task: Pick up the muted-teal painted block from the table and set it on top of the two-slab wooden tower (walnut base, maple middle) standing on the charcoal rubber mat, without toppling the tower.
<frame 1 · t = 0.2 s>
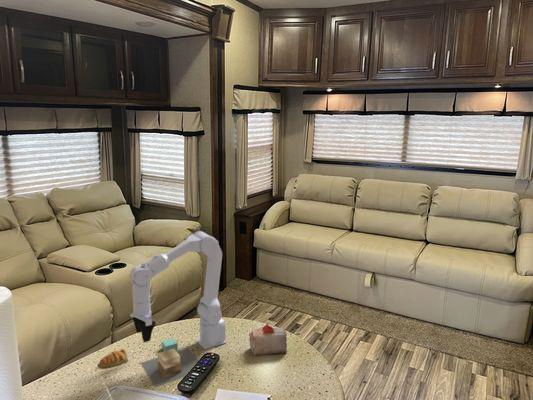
hand: (143, 336, 143), 10 cm above the countertop, fingers open, 7 cm apart
mat: (173, 366, 142), on the countertop
tower base: (169, 370, 139), resting on mat, touching tower mid
pastry: (115, 363, 144), on the countertop
teal block: (169, 350, 152), on the countertop
food item: (267, 351, 153), on the countertop
tower mid: (169, 362, 138), point 3 cm above the countertop, touching tower base
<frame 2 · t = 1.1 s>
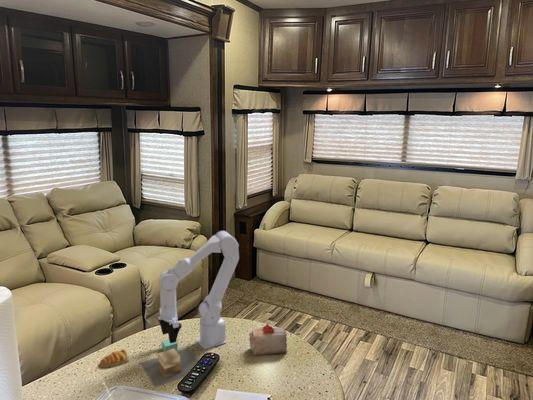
hand: (169, 337, 151), 5 cm above the countertop, fingers open, 7 cm apart
nothing on the countertop moved.
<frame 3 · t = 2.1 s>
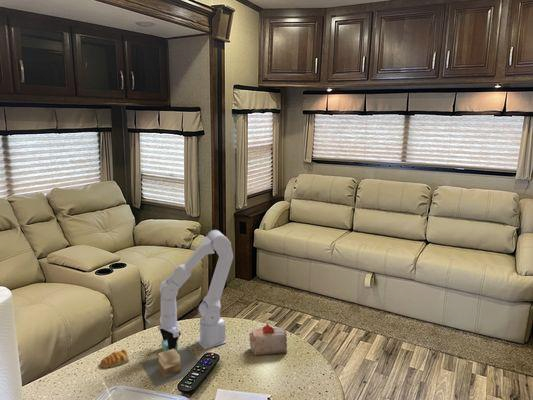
hand: (169, 346, 152), 1 cm above the countertop, fingers closed on teal block, 4 cm apart
teal block: (169, 350, 152), on the countertop, touching gripper
everything else where it was.
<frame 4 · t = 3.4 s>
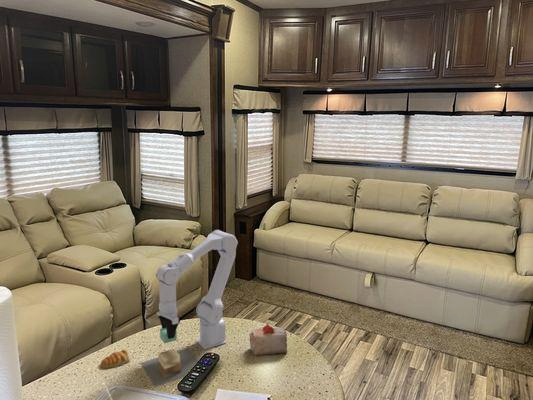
hand: (168, 334, 145), 9 cm above the countertop, fingers closed on teal block, 4 cm apart
teal block: (168, 339, 145), point 8 cm above the countertop, touching gripper
everything else where it was.
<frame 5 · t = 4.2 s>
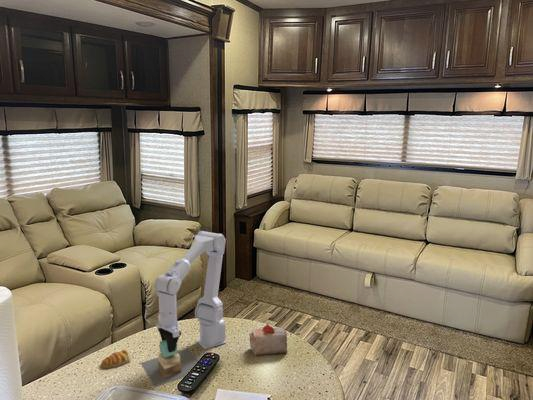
hand: (169, 347, 137), 9 cm above the countertop, fingers closed on teal block, 4 cm apart
teal block: (168, 352, 138), point 7 cm above the countertop, touching gripper
everything else where it was.
when the fingers open (9 cm above the countertop, at t = 4.7 s): teal block stays where it is, resting on tower mid.
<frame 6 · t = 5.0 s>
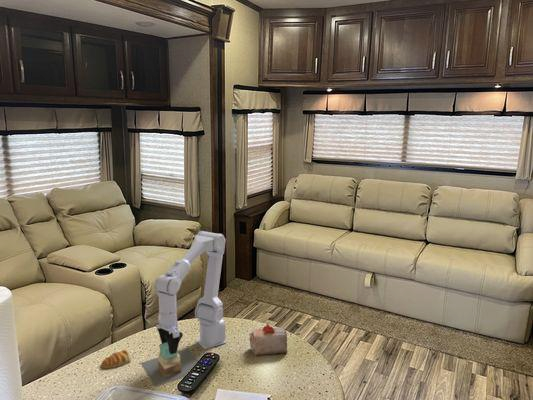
hand: (169, 348, 137), 9 cm above the countertop, fingers open, 7 cm apart
teal block: (168, 354, 138), point 6 cm above the countertop, touching tower mid
tower mid: (169, 362, 138), point 3 cm above the countertop, touching teal block, tower base
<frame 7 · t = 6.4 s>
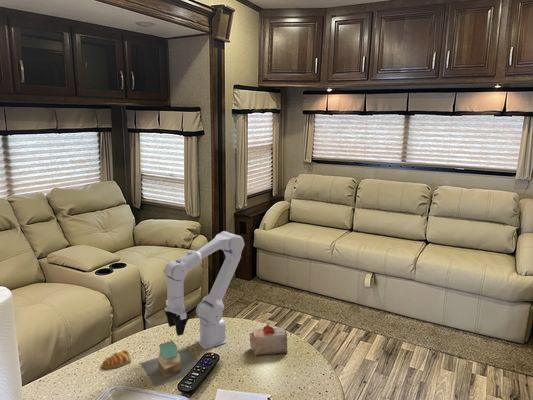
hand: (176, 330, 147), 10 cm above the countertop, fingers open, 7 cm apart
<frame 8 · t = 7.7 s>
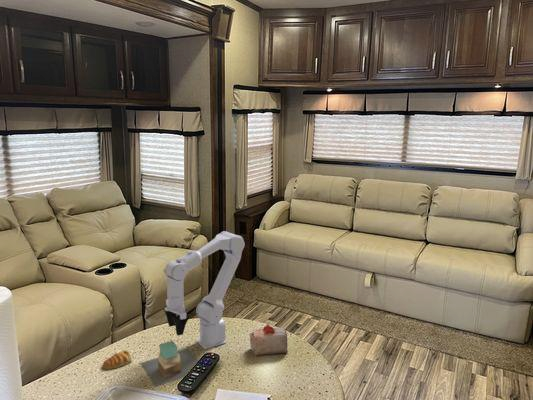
hand: (176, 330, 147), 10 cm above the countertop, fingers open, 7 cm apart
at the end: teal block 0.2 cm off-centre on the tower base, point 6.0 cm above the tower base's base; tower mid 0.0 cm off-centre on the tower base, point 3.0 cm above the tower base's base; teal block tilted 0° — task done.
